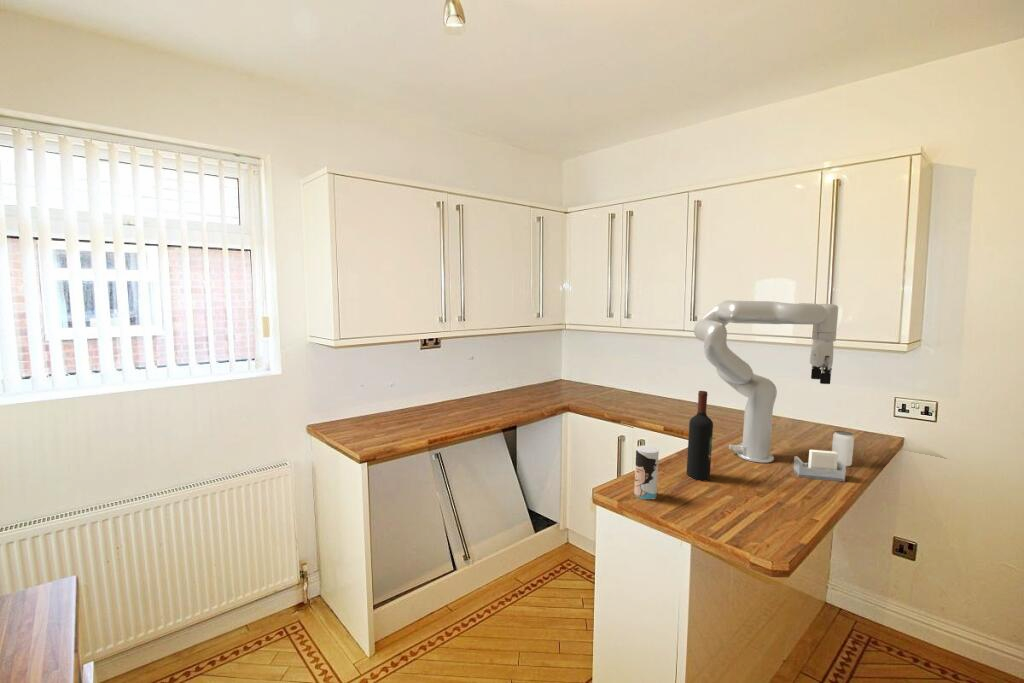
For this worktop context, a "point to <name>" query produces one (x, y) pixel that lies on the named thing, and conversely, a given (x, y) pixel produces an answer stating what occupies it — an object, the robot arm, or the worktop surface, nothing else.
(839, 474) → the track
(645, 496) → the cup
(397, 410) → the worktop surface
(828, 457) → the plain white block
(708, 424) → the wine bottle
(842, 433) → the can
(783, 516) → the worktop surface
